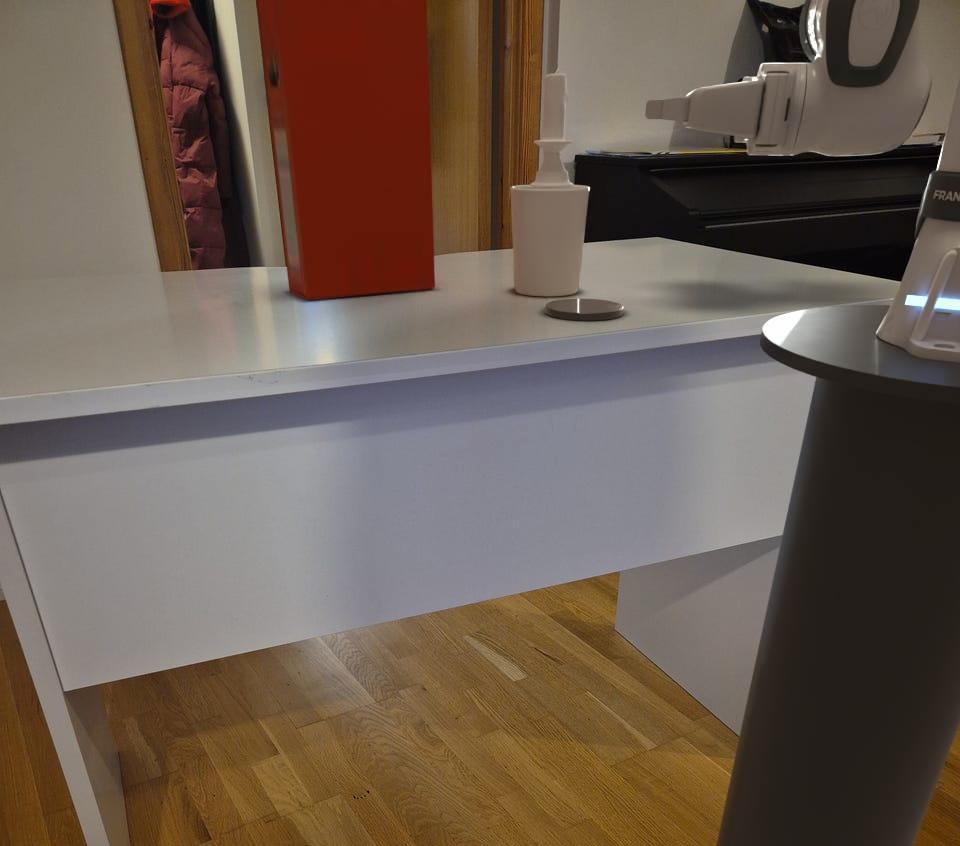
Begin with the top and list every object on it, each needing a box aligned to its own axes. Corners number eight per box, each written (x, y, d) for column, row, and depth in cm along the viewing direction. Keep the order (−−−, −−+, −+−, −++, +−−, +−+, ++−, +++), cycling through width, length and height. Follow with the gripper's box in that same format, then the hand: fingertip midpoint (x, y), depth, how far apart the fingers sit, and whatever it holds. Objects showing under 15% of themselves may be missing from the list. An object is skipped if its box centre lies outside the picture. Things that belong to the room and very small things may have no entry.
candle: (562, 184, 105) (567, 69, 99) (580, 187, 101) (586, 67, 95) (523, 185, 104) (525, 69, 98) (540, 188, 100) (543, 66, 93)
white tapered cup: (513, 284, 114) (515, 184, 107) (586, 285, 112) (592, 184, 106) (503, 296, 105) (504, 189, 99) (581, 298, 104) (587, 189, 98)
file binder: (288, 291, 109) (253, -21, 92) (409, 280, 116) (397, -11, 99) (308, 301, 103) (275, -30, 86) (435, 289, 110) (427, -19, 93)
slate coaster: (637, 312, 97) (638, 305, 97) (592, 324, 92) (592, 316, 91) (576, 302, 102) (576, 295, 102) (529, 313, 97) (529, 305, 96)
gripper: (763, 80, 101) (648, 80, 103) (787, 72, 84) (649, 72, 86) (754, 140, 105) (643, 139, 107) (775, 144, 88) (642, 143, 90)
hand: (645, 109), depth 96 cm, fingers open, 8 cm apart
